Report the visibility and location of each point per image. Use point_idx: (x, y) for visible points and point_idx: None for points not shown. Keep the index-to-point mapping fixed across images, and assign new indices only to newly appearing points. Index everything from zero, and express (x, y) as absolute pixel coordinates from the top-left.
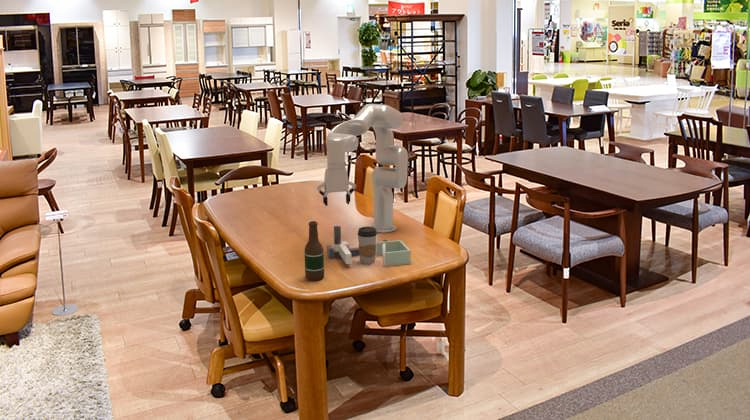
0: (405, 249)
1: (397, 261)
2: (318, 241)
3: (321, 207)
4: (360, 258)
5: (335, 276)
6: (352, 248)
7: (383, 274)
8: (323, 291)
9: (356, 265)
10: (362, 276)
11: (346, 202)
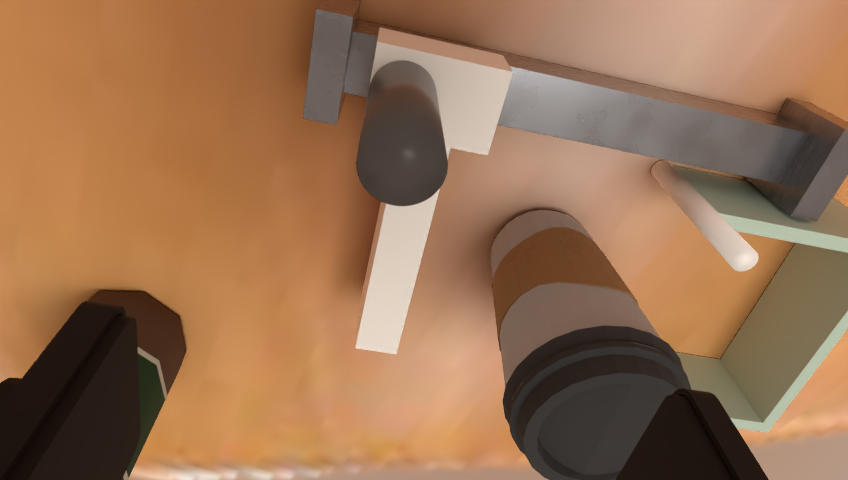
0: (786, 368)
1: None
2: None
3: None
4: (492, 263)
5: (257, 355)
6: (540, 88)
7: (505, 422)
8: (147, 469)
9: (444, 268)
10: (395, 405)
11: (656, 427)
